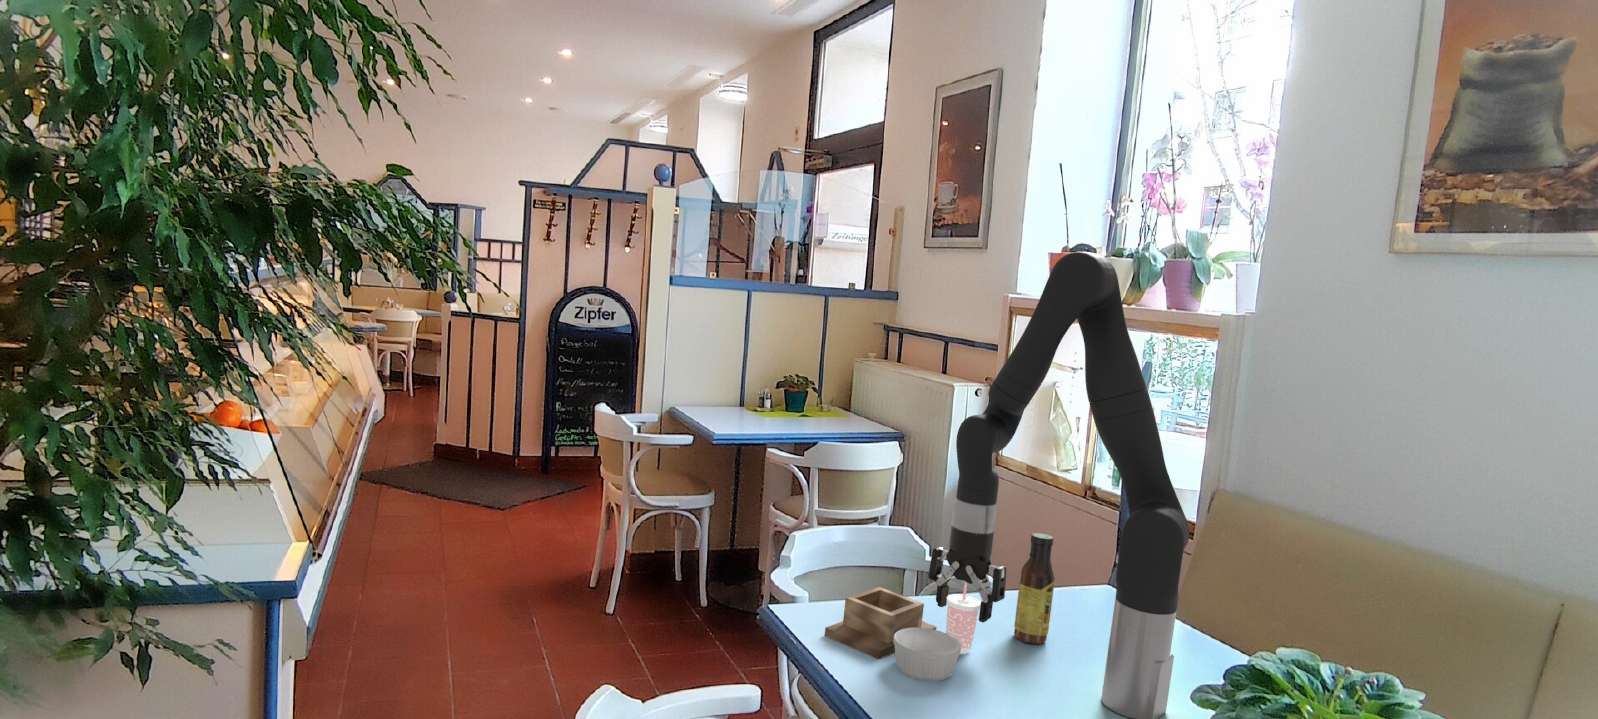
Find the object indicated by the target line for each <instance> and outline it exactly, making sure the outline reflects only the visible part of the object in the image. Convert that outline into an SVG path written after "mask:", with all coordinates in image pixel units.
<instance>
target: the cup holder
mask: <svg viewBox="0 0 1598 719" xmlns="http://www.w3.org/2000/svg"><path fill="white" fill-rule="evenodd" d="M844 602H845V603H844V611H843V619H842V621H840V622H839V621H838V622H837V623H834V624H831V625H828V626H826V627H825V628H824V636H825V637H826V638H829V639H831V640H834V641H836V642H838V643H840V644H842V645H845V646H846V647H849V648H851V649H854V650H856V651H858V652H861V653H862V654H864V655H865V654H866V655H868V656H870V657H872V658H874V659H877V660H880V659H883V658H885V657H888V656H889V655H891V654H895V645H894V642H893V638H894V634H895V633H896V632H897V631H899V630H902V629H906V628H928V629H933V630H937V628H938V626H936V625H933V624H931V623H928V622H926V621H923V616H924V614H923V613H924V608H925V607H924V606H925V603H924V602H920V601H918V600H915V599H913V598H910V597H908V596H905V595H902V594H900V593H897V592H894V591H891V590H889V589H887V588H883V587H881V586H877V587H874V588H871V589H868V590H864V591H862V592H858V593H856V594H852V595H850V596H847V597H845V601H844Z"/></svg>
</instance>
